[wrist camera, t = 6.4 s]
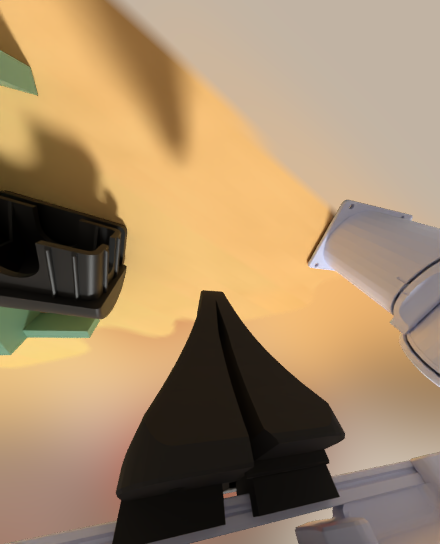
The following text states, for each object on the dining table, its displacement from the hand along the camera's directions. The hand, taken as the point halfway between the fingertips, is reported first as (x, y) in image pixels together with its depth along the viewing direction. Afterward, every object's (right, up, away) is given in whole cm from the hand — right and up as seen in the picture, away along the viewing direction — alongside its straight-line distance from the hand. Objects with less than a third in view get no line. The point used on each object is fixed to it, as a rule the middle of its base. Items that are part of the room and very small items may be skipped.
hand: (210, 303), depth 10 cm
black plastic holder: (-13, +5, +5) cm, 15 cm away
